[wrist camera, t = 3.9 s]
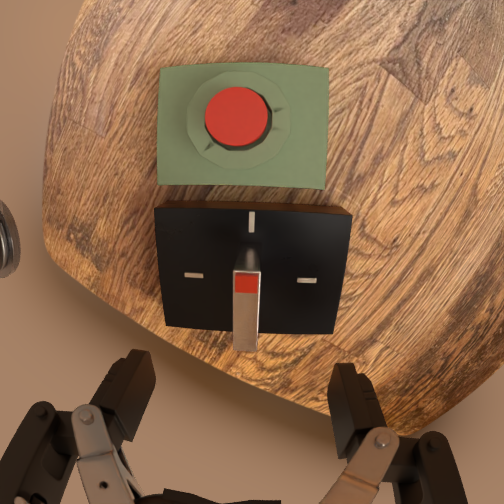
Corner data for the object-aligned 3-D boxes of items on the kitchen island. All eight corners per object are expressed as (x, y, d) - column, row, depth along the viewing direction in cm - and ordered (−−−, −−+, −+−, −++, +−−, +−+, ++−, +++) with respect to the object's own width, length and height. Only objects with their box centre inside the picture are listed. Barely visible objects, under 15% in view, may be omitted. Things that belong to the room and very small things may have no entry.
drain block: (166, 182, 21) (147, 189, 18) (169, 74, 18) (150, 61, 15) (319, 186, 21) (330, 193, 17) (323, 75, 18) (335, 60, 14)
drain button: (209, 146, 17) (203, 146, 15) (211, 93, 16) (205, 87, 14) (266, 147, 17) (266, 146, 15) (268, 93, 16) (268, 87, 14)
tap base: (175, 308, 25) (165, 327, 22) (167, 200, 22) (152, 208, 19) (326, 315, 25) (333, 335, 22) (341, 206, 22) (353, 215, 19)
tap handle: (258, 310, 22) (257, 354, 17) (239, 309, 22) (232, 353, 17) (262, 242, 20) (261, 273, 15) (240, 241, 20) (232, 272, 15)
